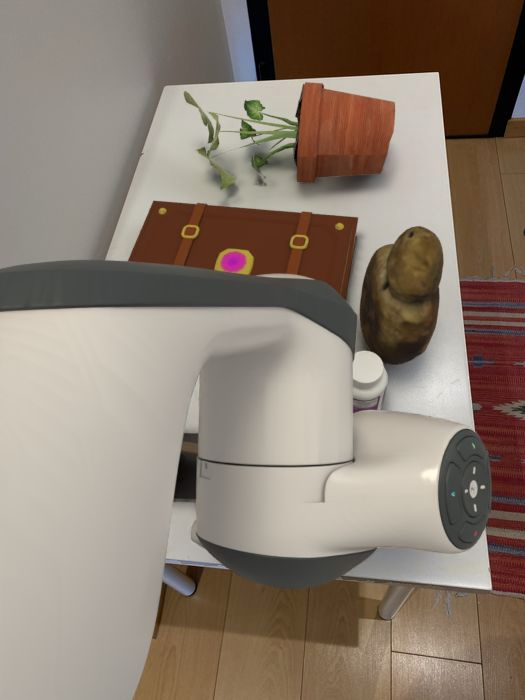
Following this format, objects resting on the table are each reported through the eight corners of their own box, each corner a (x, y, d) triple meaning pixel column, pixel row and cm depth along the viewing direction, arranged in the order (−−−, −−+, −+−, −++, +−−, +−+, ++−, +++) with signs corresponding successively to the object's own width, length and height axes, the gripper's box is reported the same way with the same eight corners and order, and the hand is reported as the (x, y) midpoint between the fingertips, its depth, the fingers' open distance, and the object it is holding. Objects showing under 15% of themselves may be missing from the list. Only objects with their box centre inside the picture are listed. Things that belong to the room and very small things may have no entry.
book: (161, 218, 83) (152, 195, 78) (357, 236, 76) (358, 212, 72) (112, 338, 72) (99, 319, 68) (333, 370, 66) (334, 351, 62)
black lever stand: (207, 436, 64) (184, 399, 53) (200, 501, 60) (173, 474, 50) (130, 435, 65) (93, 398, 55) (118, 498, 61) (76, 472, 51)
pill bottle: (353, 374, 65) (356, 336, 57) (390, 394, 63) (399, 358, 55) (330, 406, 64) (331, 372, 55) (368, 429, 62) (374, 397, 53)
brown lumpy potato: (424, 390, 63) (460, 299, 46) (355, 386, 65) (365, 296, 47) (421, 301, 70) (451, 191, 52) (358, 299, 71) (368, 191, 53)
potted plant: (380, 146, 87) (181, 134, 90) (398, 63, 73) (162, 52, 77) (377, 219, 81) (162, 202, 84) (396, 142, 67) (138, 126, 70)
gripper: (336, 340, 46) (255, 351, 57) (219, 556, 38) (153, 518, 50) (379, 381, 48) (293, 384, 60) (277, 591, 40) (202, 548, 52)
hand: (229, 446), depth 55 cm, fingers closed, pressing on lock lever
